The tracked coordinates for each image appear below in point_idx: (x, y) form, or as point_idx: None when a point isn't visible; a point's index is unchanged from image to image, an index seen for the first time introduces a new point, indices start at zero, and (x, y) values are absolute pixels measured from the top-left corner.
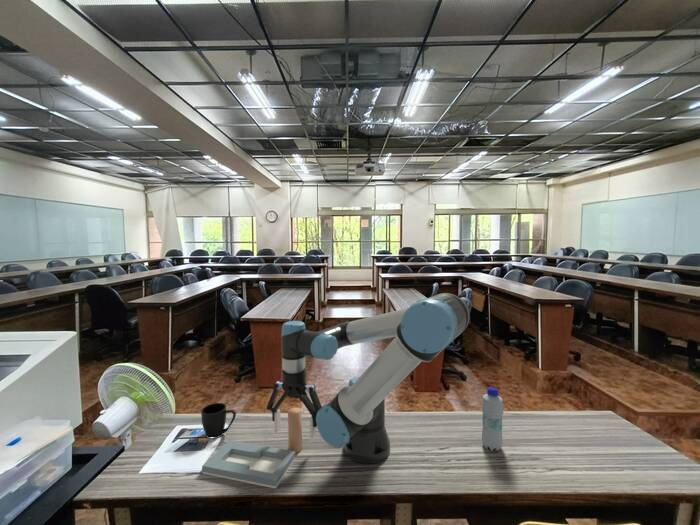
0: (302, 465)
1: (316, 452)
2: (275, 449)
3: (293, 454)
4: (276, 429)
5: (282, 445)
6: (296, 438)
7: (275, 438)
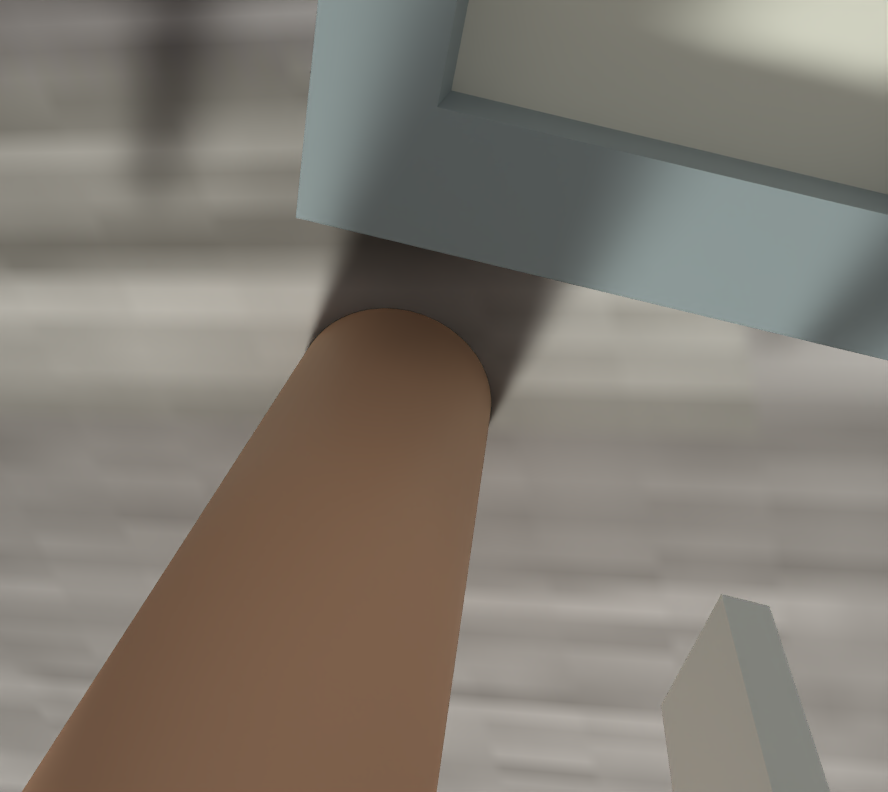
0: (164, 8)
1: (78, 322)
2: (689, 269)
3: (306, 134)
4: (743, 649)
5: (605, 475)
6: (277, 433)
7: None
